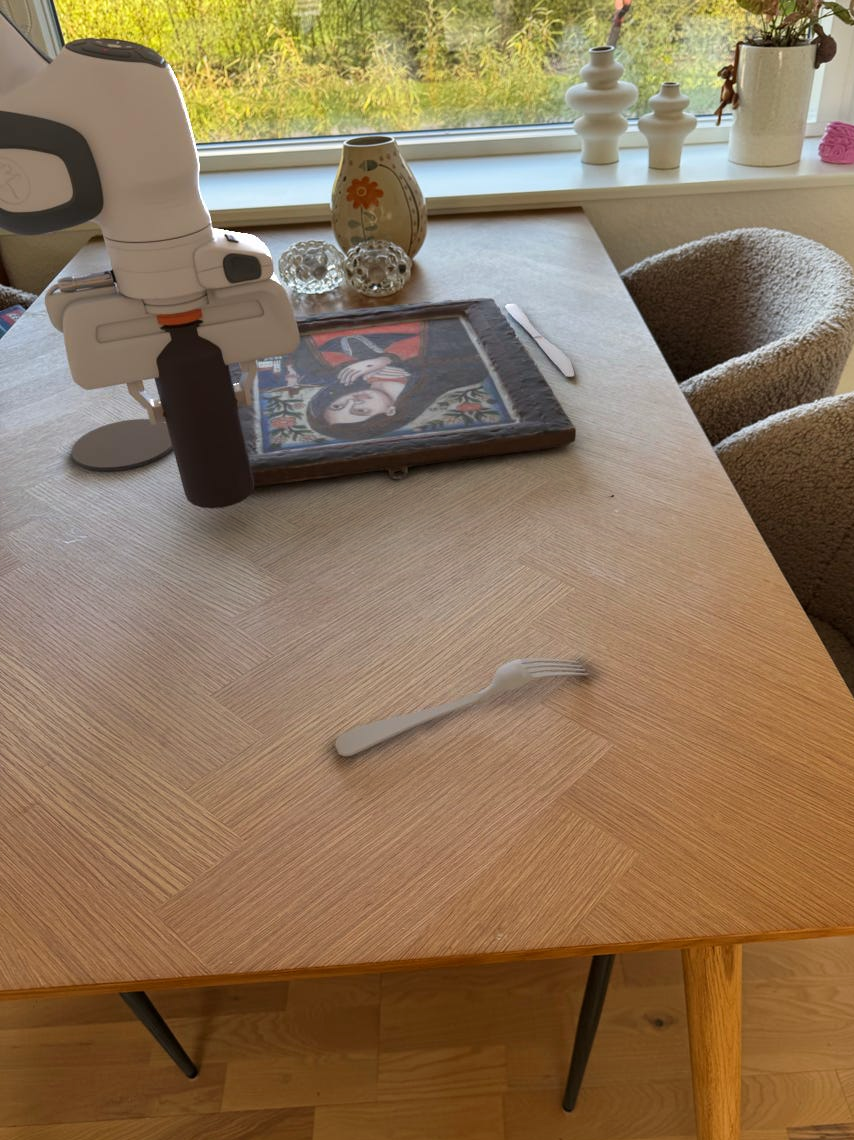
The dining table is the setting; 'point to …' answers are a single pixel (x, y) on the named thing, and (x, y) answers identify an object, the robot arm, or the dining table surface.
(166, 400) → the vinegar
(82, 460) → the coaster
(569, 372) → the butter knife
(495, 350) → the religious icon
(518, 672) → the fork
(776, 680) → the dining table surface
